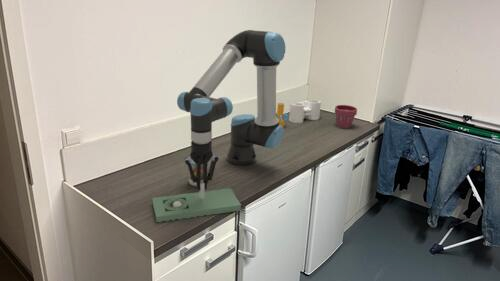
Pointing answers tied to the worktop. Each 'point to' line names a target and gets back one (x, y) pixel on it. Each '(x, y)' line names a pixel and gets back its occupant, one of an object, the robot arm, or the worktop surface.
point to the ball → (177, 204)
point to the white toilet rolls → (304, 111)
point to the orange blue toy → (281, 114)
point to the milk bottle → (195, 173)
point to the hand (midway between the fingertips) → (201, 196)
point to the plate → (195, 205)
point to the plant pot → (345, 115)
